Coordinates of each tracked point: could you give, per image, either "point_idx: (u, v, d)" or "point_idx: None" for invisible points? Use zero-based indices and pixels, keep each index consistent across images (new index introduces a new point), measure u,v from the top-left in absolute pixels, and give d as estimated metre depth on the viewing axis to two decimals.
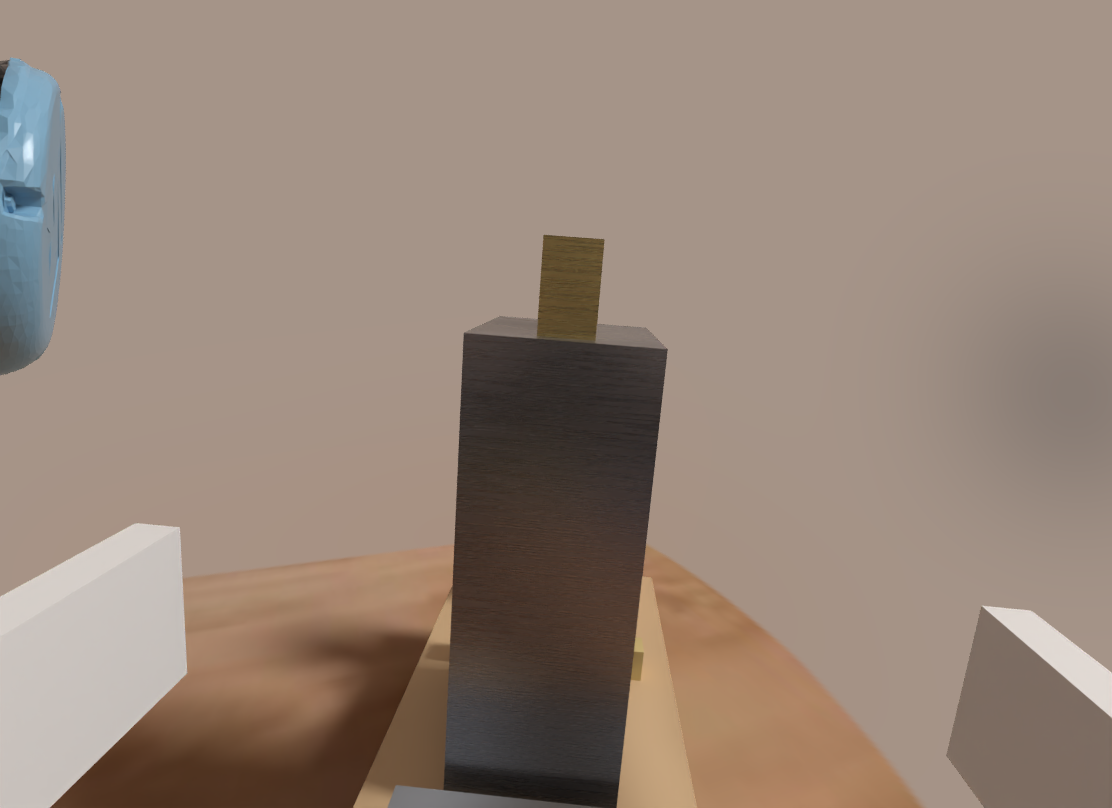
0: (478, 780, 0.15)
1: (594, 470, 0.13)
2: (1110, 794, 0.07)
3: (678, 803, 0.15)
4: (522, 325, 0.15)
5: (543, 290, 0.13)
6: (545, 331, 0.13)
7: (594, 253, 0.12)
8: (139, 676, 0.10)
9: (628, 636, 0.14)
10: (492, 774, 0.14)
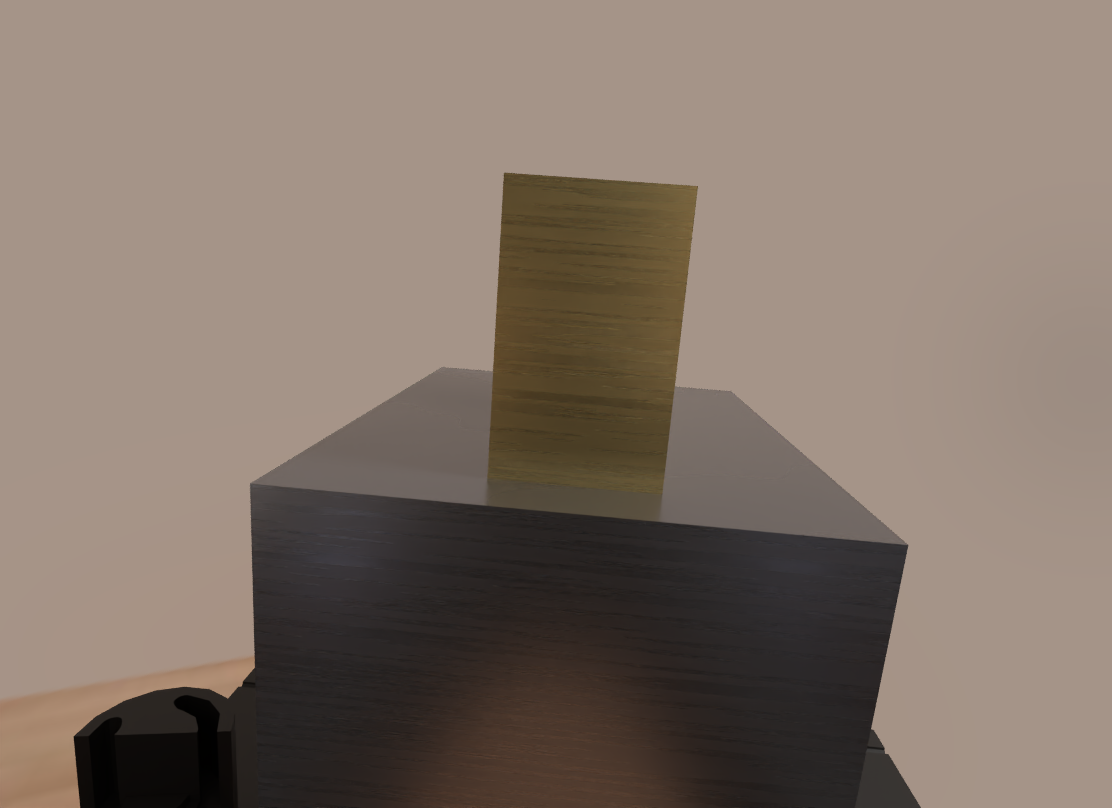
0: None
1: None
2: None
3: None
4: (471, 407, 0.06)
5: (505, 345, 0.04)
6: (512, 467, 0.04)
7: (665, 232, 0.04)
8: None
9: None
10: None
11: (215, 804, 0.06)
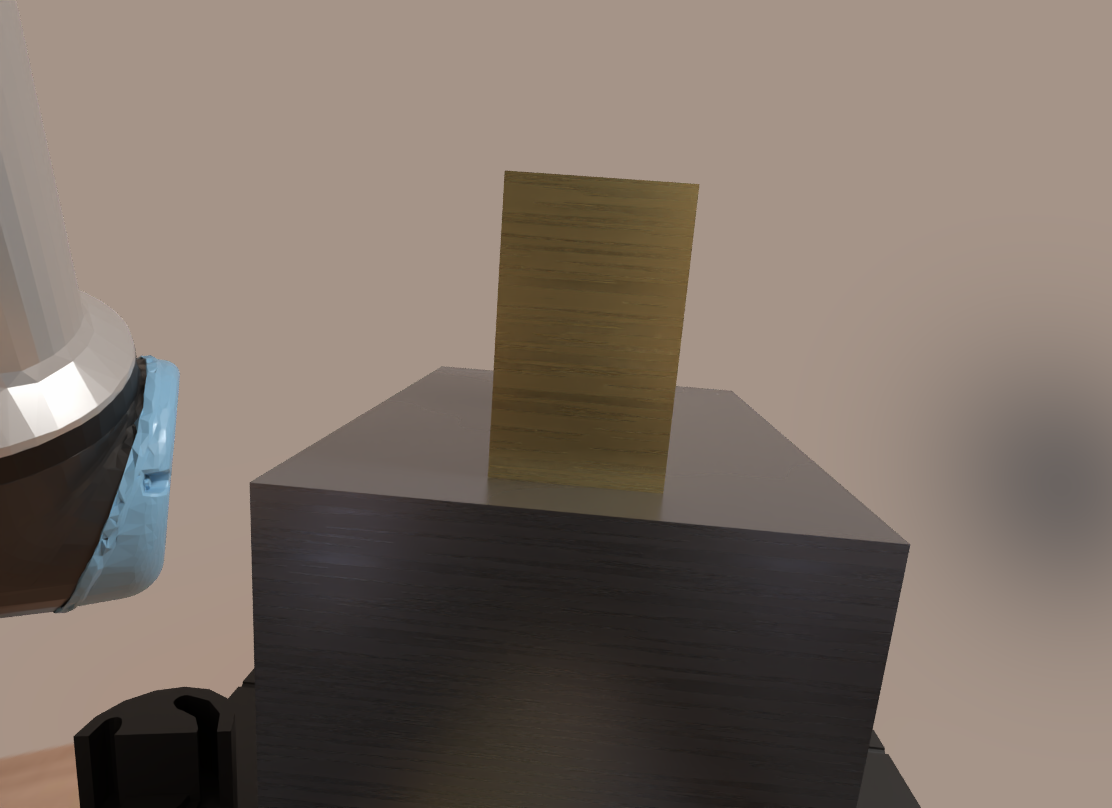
0: None
1: None
2: None
3: None
4: (471, 406, 0.06)
5: (506, 344, 0.04)
6: (512, 466, 0.04)
7: (666, 230, 0.04)
8: None
9: None
10: None
11: (215, 805, 0.06)
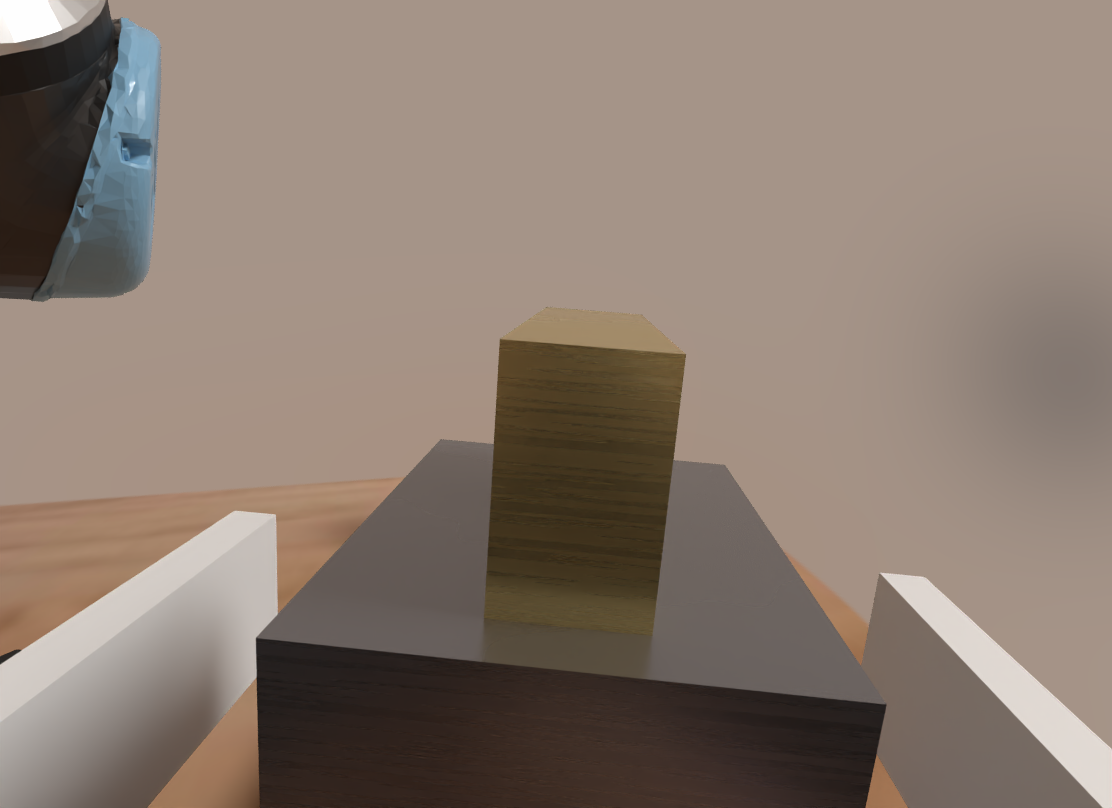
0: None
1: None
2: (963, 730, 0.08)
3: None
4: (469, 503, 0.07)
5: (501, 495, 0.04)
6: (507, 609, 0.04)
7: (654, 394, 0.04)
8: (244, 651, 0.10)
9: None
10: None
11: None
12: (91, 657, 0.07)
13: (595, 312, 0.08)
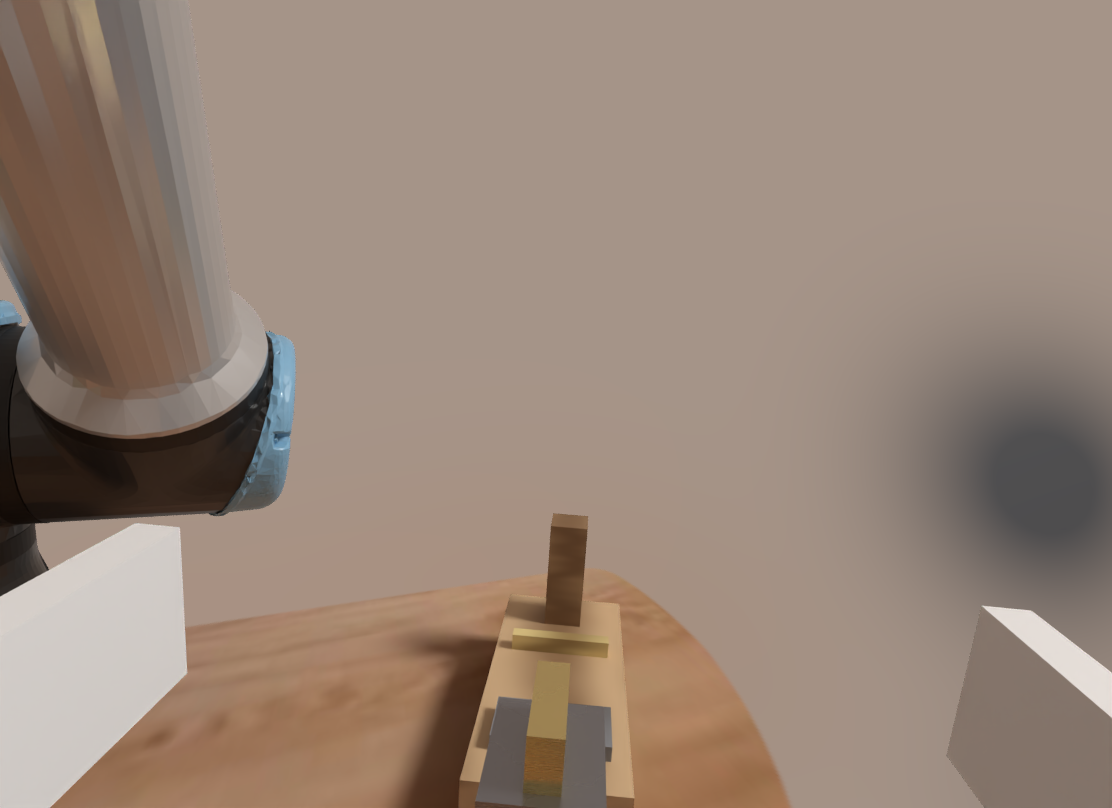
0: None
1: None
2: (1110, 794, 0.07)
3: (619, 707, 0.35)
4: (514, 742, 0.22)
5: (526, 766, 0.19)
6: (528, 791, 0.20)
7: (559, 747, 0.19)
8: (139, 676, 0.10)
9: None
10: None
11: None
12: None
13: (554, 666, 0.23)
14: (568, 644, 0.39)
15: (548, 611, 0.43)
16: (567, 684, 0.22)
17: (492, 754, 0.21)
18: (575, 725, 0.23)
